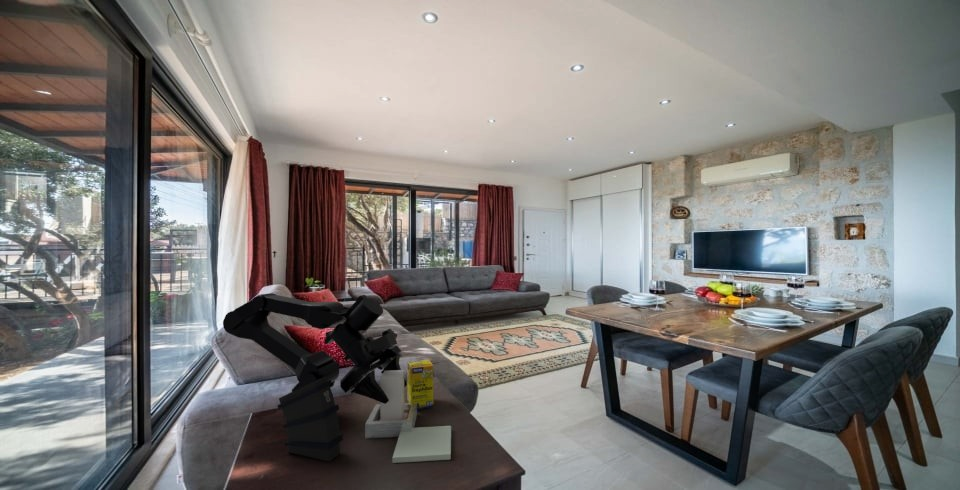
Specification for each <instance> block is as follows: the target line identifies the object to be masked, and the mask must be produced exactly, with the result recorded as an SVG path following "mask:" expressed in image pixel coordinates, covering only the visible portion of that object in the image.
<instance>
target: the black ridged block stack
mask: <svg viewBox="0 0 960 490" xmlns="http://www.w3.org/2000/svg"><path fill="white" fill-rule="evenodd" d="M331 384H332V382H331V380H330V381H328V380H327V377H326V376H325V377H323V378H320V379H318V380H316V381H314V382H312V383H310V384H308V385H305V386H303V387H301V388H299V389H297V390H295V391H293V392H292V391H291V392H289V393H288V394H285V395H282V396H281V397H278V401H279V404H277V409H278V410H280V409H281V410H282V413H283V416H284V421H285V423H284V424H282V427H283V429H284V428H286V434H287V440H286V441H285V442H284V446H286V447H287V452H288V453H291V454H294V455H298V456H304V457H308V458H313V459H317V460H320V461H325V462H331V461H332V460H333V459H335V458H336V457H338V456H339V455H340V454H341V442H342V441H344V440H343V439H344V434H342V433H340V424H339V419H338V413H337V412H338V411H339V410H340V406H339V404H335V399H334V394H333V391H332V389H331V388H330V386H329V385H331Z"/></svg>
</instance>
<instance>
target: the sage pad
mask: <svg viewBox="0 0 960 490" xmlns="http://www.w3.org/2000/svg"><path fill="white" fill-rule="evenodd" d="M451 455H452V425H441V426H440V425H439V426H436V425H435V426H422V427H421V426H420V427H419V426H418V427H414V428H413V429H412V431H407V432H400V435H399V437H398V438H397V442H396V445H395V447H394V451H393V453H392V464H396V463H400V464H401V463H413V462H415V463H417V462H429V461H430V462H431V461H447V460H448V461H449V460H451V459H452V458H451Z"/></svg>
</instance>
